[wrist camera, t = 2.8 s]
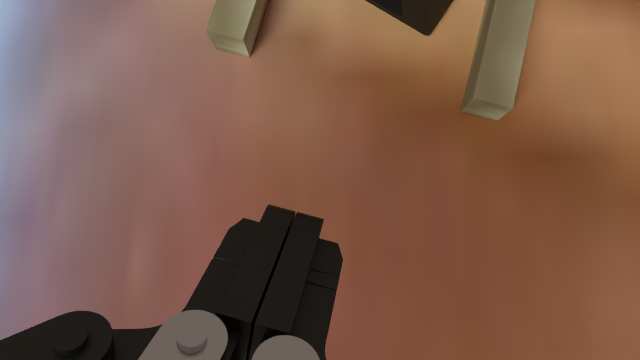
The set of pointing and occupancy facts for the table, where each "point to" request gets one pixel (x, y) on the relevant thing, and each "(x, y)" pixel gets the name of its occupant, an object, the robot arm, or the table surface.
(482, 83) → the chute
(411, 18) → the phone stand
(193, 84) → the table surface
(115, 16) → the table surface
